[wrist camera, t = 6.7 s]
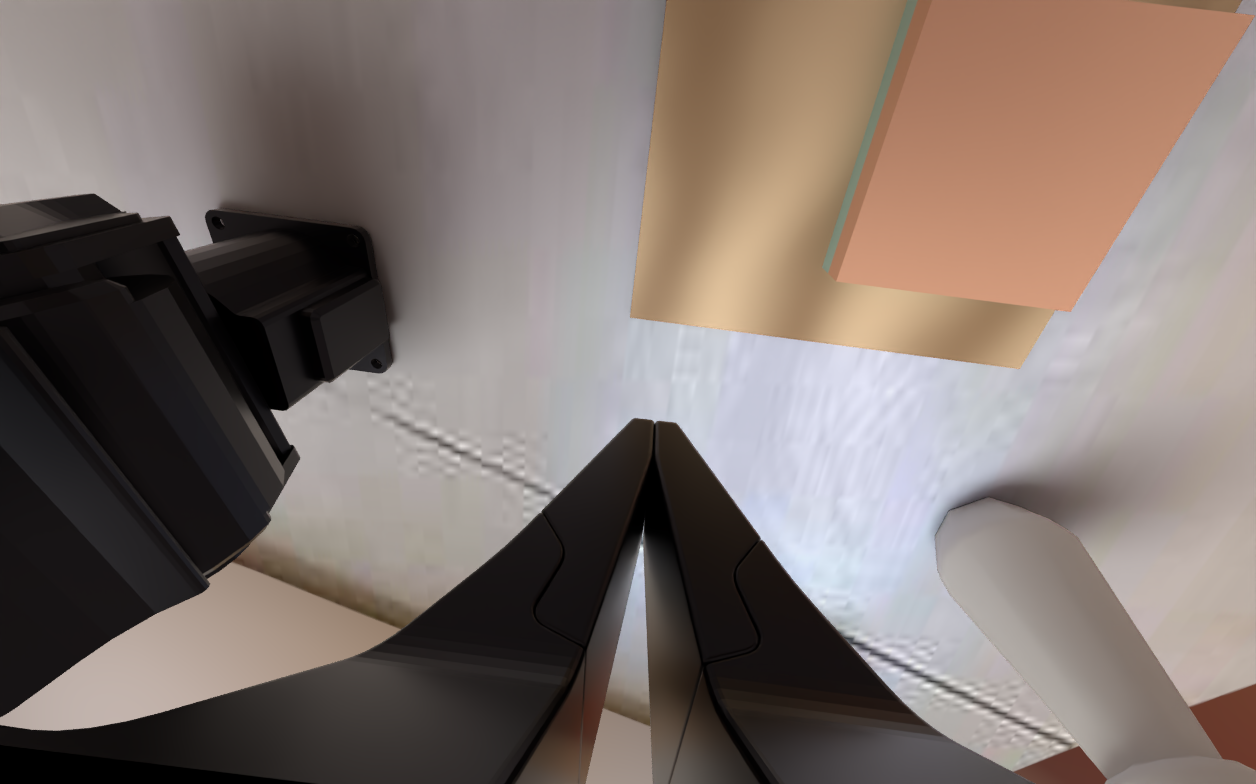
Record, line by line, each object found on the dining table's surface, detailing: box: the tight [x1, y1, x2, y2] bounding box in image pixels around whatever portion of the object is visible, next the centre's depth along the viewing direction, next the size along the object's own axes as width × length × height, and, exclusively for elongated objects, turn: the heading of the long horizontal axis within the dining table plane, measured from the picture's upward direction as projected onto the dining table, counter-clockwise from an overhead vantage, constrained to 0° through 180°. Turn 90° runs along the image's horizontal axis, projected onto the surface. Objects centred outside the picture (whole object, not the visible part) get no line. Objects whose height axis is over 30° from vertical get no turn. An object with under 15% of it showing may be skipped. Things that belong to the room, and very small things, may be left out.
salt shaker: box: [935, 497, 1256, 784], centre depth 18 cm, size 6×6×13 cm
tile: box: [822, 0, 1255, 312], centre depth 15 cm, size 2×8×8 cm
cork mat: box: [630, 0, 1242, 369], centre depth 16 cm, size 16×14×1 cm
